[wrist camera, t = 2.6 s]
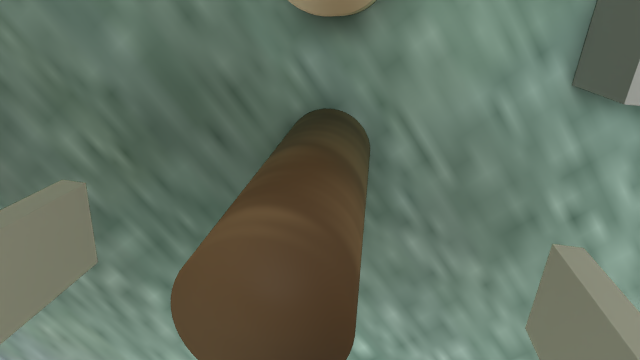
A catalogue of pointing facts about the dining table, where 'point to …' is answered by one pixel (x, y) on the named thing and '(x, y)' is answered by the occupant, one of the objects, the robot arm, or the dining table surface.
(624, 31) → the hole board
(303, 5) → the short pin
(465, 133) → the dining table surface
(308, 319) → the long pin
